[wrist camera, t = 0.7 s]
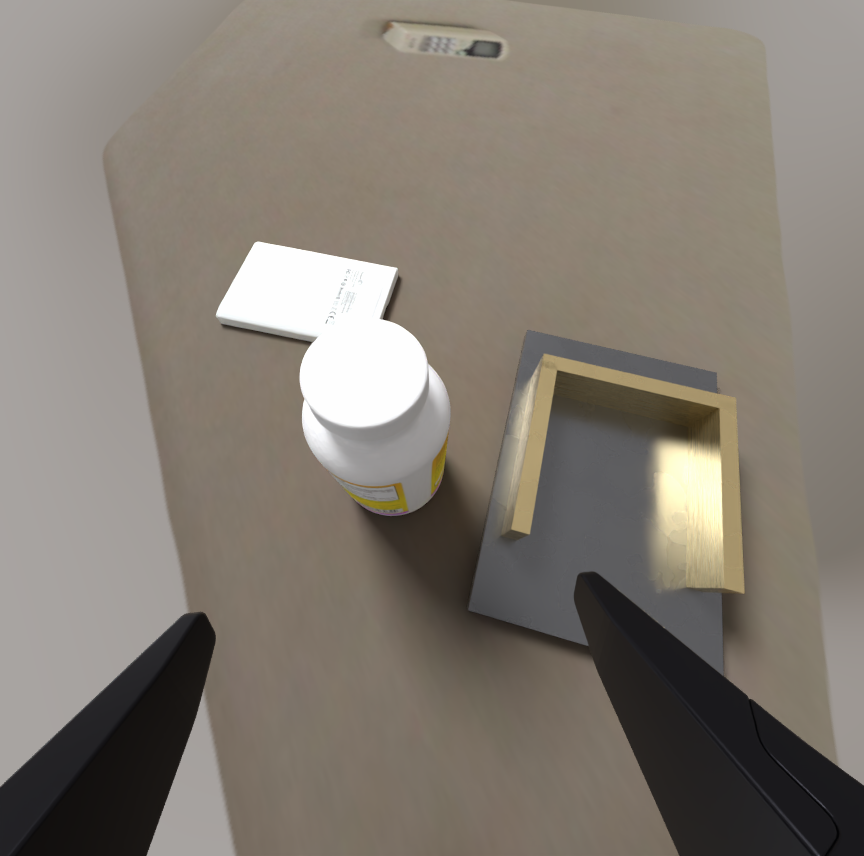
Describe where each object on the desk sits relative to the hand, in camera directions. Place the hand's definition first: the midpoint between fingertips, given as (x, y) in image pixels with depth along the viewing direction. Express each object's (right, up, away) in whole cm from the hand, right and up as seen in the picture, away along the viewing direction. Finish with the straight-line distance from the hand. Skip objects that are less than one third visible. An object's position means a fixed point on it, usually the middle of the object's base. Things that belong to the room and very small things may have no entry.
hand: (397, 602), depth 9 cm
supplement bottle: (-2, +1, +16) cm, 17 cm away
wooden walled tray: (+12, +1, +16) cm, 20 cm away
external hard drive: (-9, +15, +22) cm, 28 cm away
